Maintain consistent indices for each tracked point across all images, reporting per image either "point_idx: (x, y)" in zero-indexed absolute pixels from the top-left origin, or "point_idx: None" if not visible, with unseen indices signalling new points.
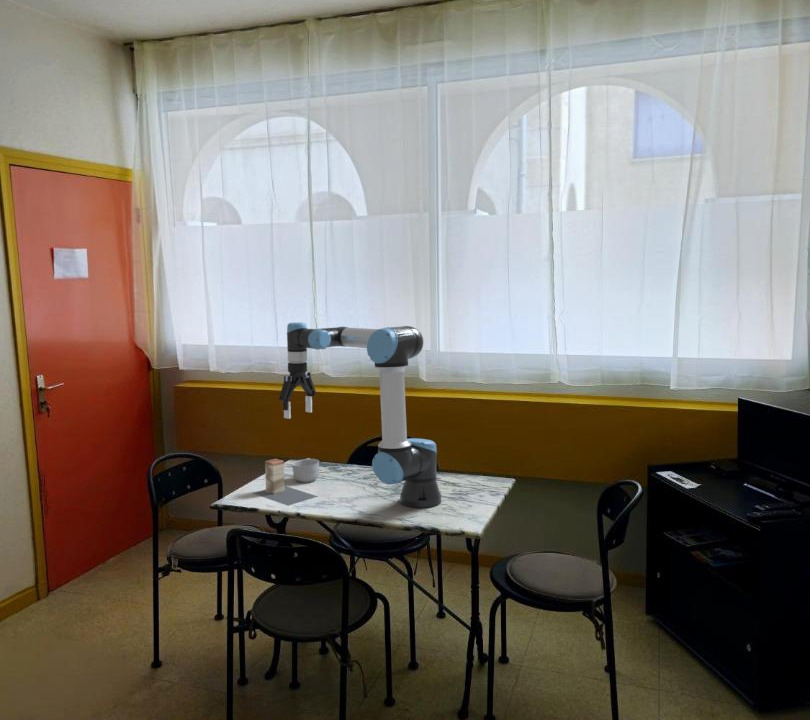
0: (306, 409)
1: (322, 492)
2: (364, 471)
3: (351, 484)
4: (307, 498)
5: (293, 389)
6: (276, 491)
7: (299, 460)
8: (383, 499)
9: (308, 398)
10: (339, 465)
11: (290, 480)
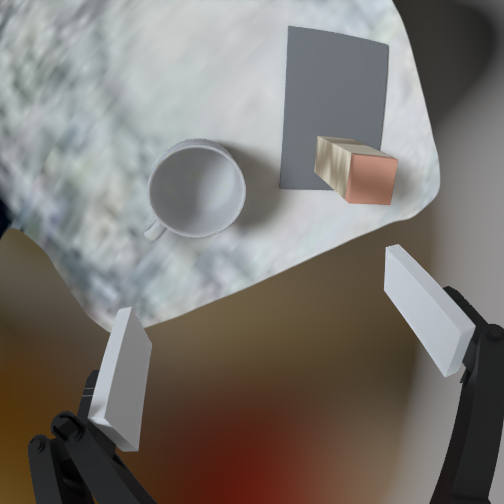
0: (145, 353)
1: (245, 48)
2: (24, 135)
3: (129, 47)
4: (321, 37)
5: (471, 464)
6: (346, 139)
7: (190, 235)
8: None
9: (122, 415)
10: (44, 232)
11: None
